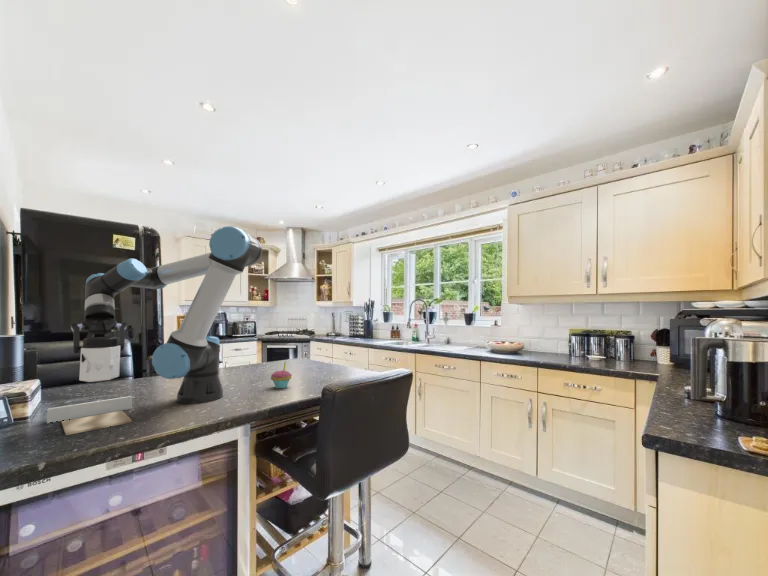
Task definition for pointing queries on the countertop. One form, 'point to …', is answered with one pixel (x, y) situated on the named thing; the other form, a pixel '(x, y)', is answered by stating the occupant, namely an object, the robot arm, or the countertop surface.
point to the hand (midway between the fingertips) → (99, 368)
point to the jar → (100, 358)
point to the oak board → (95, 422)
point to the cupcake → (281, 378)
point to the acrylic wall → (88, 409)
